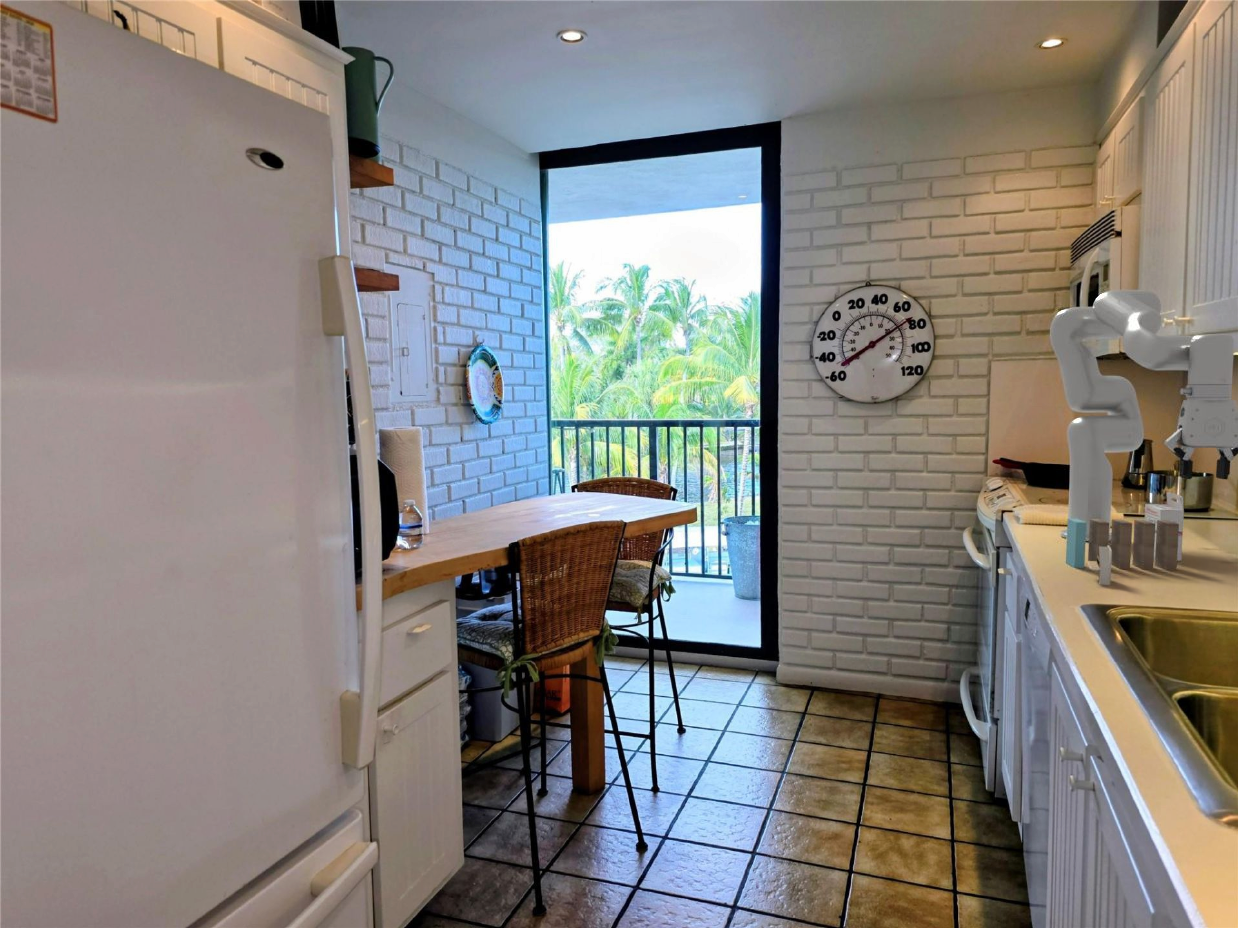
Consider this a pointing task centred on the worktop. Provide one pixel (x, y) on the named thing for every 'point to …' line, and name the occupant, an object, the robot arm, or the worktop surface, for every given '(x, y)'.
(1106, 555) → the architectural model
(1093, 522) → the domino
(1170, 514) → the ink cartridge box
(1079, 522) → the domino
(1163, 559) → the domino
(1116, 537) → the domino
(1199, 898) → the worktop surface
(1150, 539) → the domino
